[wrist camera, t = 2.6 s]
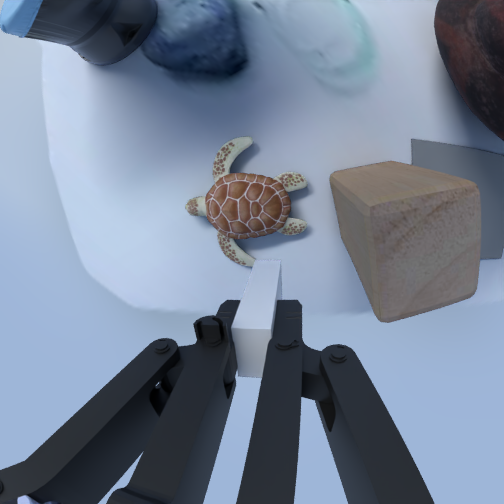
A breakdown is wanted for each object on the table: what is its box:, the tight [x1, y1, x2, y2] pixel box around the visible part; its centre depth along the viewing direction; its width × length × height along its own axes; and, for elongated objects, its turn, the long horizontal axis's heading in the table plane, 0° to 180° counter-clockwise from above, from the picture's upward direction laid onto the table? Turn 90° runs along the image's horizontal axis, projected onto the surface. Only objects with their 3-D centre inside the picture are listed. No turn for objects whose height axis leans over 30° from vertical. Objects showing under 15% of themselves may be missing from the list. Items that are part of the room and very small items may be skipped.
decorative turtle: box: [185, 136, 307, 267], centre depth 35 cm, size 18×17×5 cm
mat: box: [411, 139, 504, 259], centre depth 31 cm, size 18×22×1 cm
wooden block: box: [330, 161, 481, 323], centre depth 25 cm, size 10×10×20 cm
